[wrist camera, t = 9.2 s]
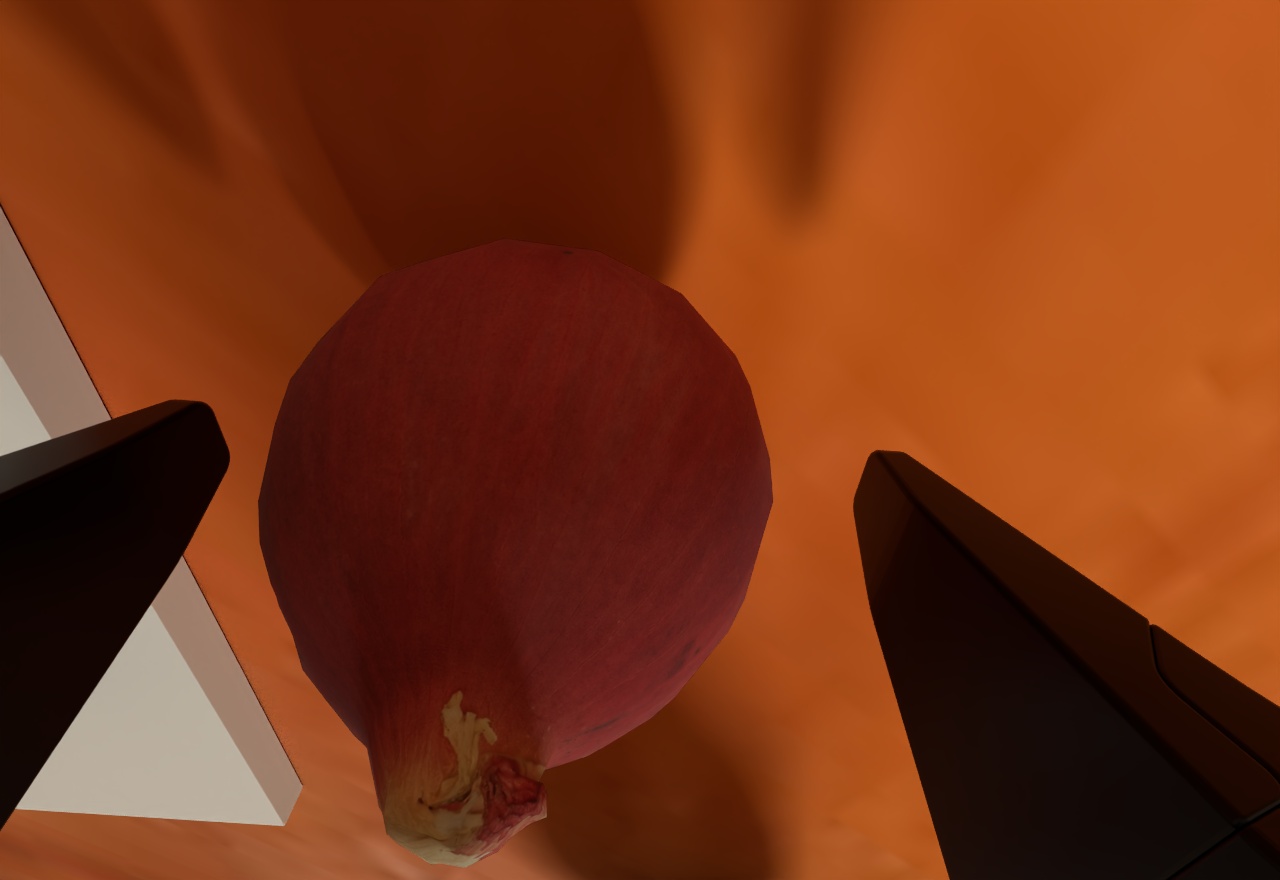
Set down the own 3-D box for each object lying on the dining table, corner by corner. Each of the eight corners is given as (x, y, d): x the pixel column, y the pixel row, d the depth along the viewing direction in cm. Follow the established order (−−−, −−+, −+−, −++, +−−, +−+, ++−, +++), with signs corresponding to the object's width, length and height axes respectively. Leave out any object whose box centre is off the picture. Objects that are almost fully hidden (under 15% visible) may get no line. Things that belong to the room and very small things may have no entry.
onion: (640, 516, 13) (617, 1029, 6) (370, 408, 12) (-6, 922, 5) (802, 282, 10) (1068, 807, 3) (462, 99, 9) (-183, 385, 2)
